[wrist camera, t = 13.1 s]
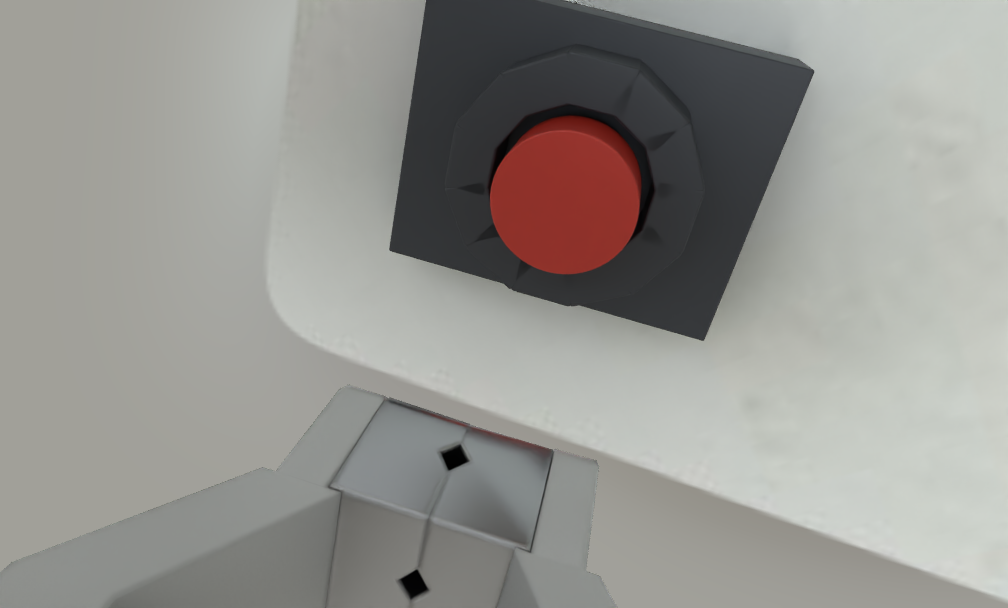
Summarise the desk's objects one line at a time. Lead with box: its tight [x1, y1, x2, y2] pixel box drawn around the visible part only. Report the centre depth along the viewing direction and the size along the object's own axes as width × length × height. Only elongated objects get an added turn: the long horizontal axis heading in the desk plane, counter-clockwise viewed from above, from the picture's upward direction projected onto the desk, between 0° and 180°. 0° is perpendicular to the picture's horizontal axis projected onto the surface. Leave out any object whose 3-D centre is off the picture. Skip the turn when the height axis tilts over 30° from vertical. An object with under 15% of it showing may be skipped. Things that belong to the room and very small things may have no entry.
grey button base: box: [389, 0, 814, 341], centre depth 20 cm, size 10×8×4 cm
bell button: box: [490, 116, 641, 274], centre depth 17 cm, size 4×4×2 cm
